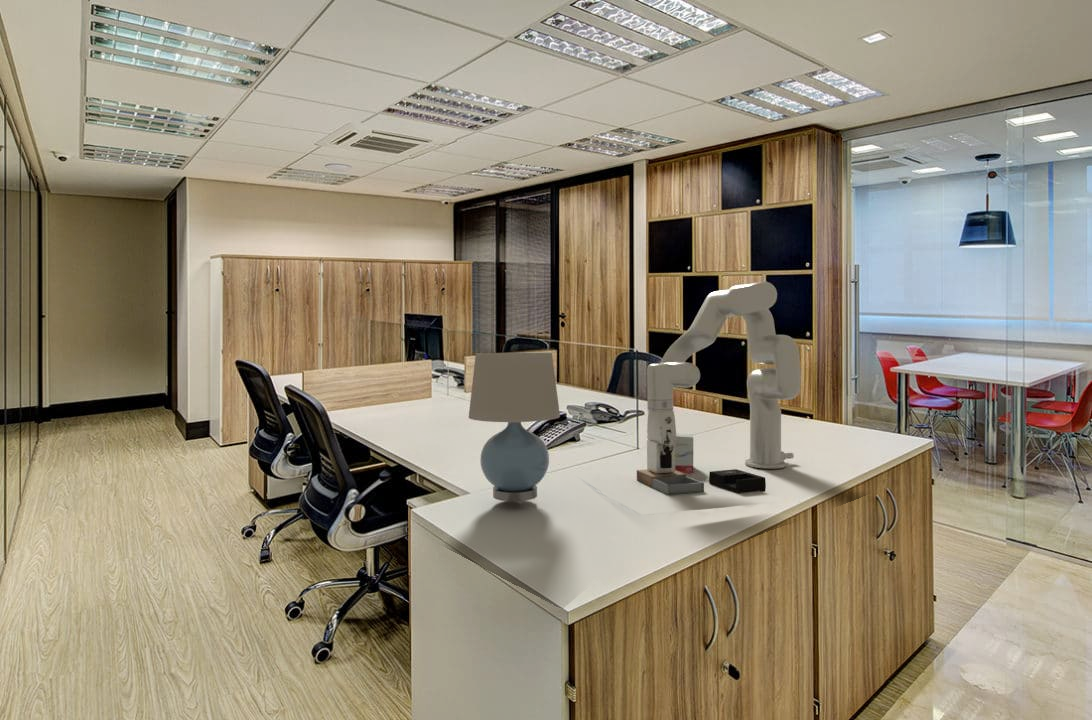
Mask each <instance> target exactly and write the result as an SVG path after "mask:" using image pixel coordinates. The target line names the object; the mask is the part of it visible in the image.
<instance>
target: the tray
mask: <svg viewBox="0 0 1092 720" xmlns="http://www.w3.org/2000/svg"><path fill="white" fill-rule="evenodd" d="M651 479H652V478H651ZM651 484H652V486H651V487H650V488H652V489H655V490H657V491H659V492H661V493H663V494H665V495H666V496H674V495H683V494H684V495H685V494H686V495H687V494H693V493H695V494H696V493H697V494H698V493H704V492H705V482H702V481H700V480H698V479H695V478H692V477H690V476H687V475H686V476H679V477H666V478H653V479H652V482H651Z"/></svg>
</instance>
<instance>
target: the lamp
mask: <svg viewBox="0 0 1092 720" xmlns="http://www.w3.org/2000/svg"><path fill="white" fill-rule="evenodd" d="M473 365H474V366H473V372H472V373H473V374H472V382H471V383H472V384H471V391H470V392H471V393H470V399H469V400H470V401H469V411H468V419H469V420H473V421H479V422H492V423H507V425H506V427H505V428H504V429H502V430H501V431H499V432H497V433H496V434H494V435H492V436H491V437H489V439H488V440H487V441H486V442H485V443H484V445H483V446H482V449H481V453H480V458H479V459H480V467H481V470H482V473H483V475H484V477H485V479H486V480H487V481H488V482H489V483H490V484H491V485H492V486H493V487H492V498H493V499H495V500H496V501H497V500H498V501H503V502H525V501H530V500H534V499H536V498H537V497H538V486H537V485H538V484H539V483H540V482H541V481H542V480H543V479H544V477H545V475H546V474H547V471H548V469H549V464H550V454H549V450H548V447H547V446H546V444H545V442H544V441H543V439H541V438H540V437H539V436H538V435H536V434H535V433H533V432H531V431H529V430H528V429H526V428H525V427H524V426H523V424H522V423H526V422H527V423H528V422H542V421H543V422H544V421H551V420H555V419H559V418H560V417H561V413H560V412H561V411H560V406H559V397H558V390H557V383H556V375H555V374H556V373H555V367H554V366H555V365H554V357H553V352H482V353H481V352H480V353H475V355H474V364H473Z"/></svg>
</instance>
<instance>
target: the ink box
mask: <svg viewBox="0 0 1092 720" xmlns="http://www.w3.org/2000/svg"><path fill="white" fill-rule="evenodd" d="M675 470H676V471H679V472H682V473H684V474H693V473H694V435H693V434H692V433H679V432H676V443H675Z"/></svg>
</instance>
